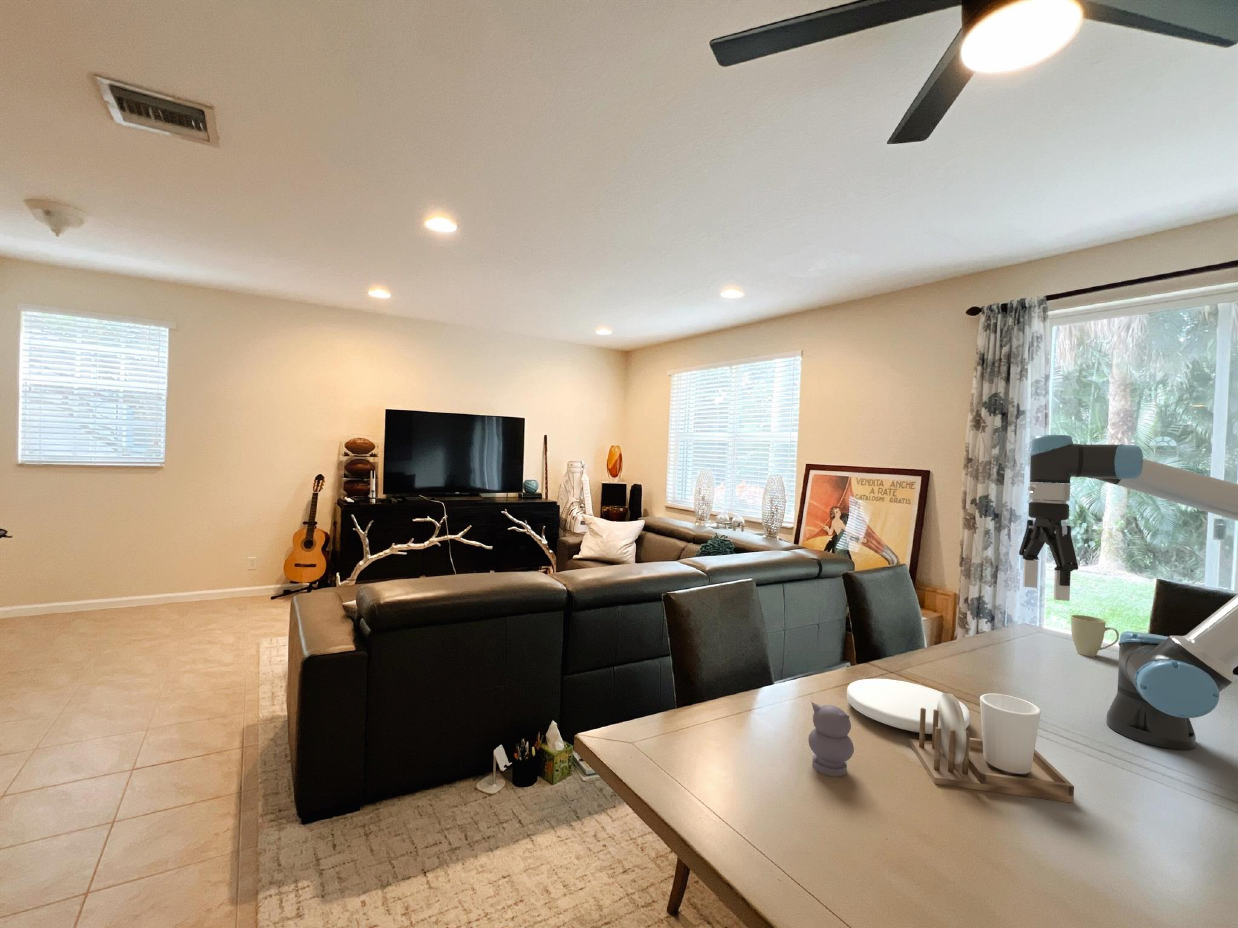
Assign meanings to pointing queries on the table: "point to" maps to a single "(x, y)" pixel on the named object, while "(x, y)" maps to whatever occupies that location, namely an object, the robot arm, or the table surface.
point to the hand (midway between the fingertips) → (1044, 593)
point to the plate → (897, 703)
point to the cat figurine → (830, 740)
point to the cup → (1009, 733)
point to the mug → (1089, 634)
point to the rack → (979, 760)
